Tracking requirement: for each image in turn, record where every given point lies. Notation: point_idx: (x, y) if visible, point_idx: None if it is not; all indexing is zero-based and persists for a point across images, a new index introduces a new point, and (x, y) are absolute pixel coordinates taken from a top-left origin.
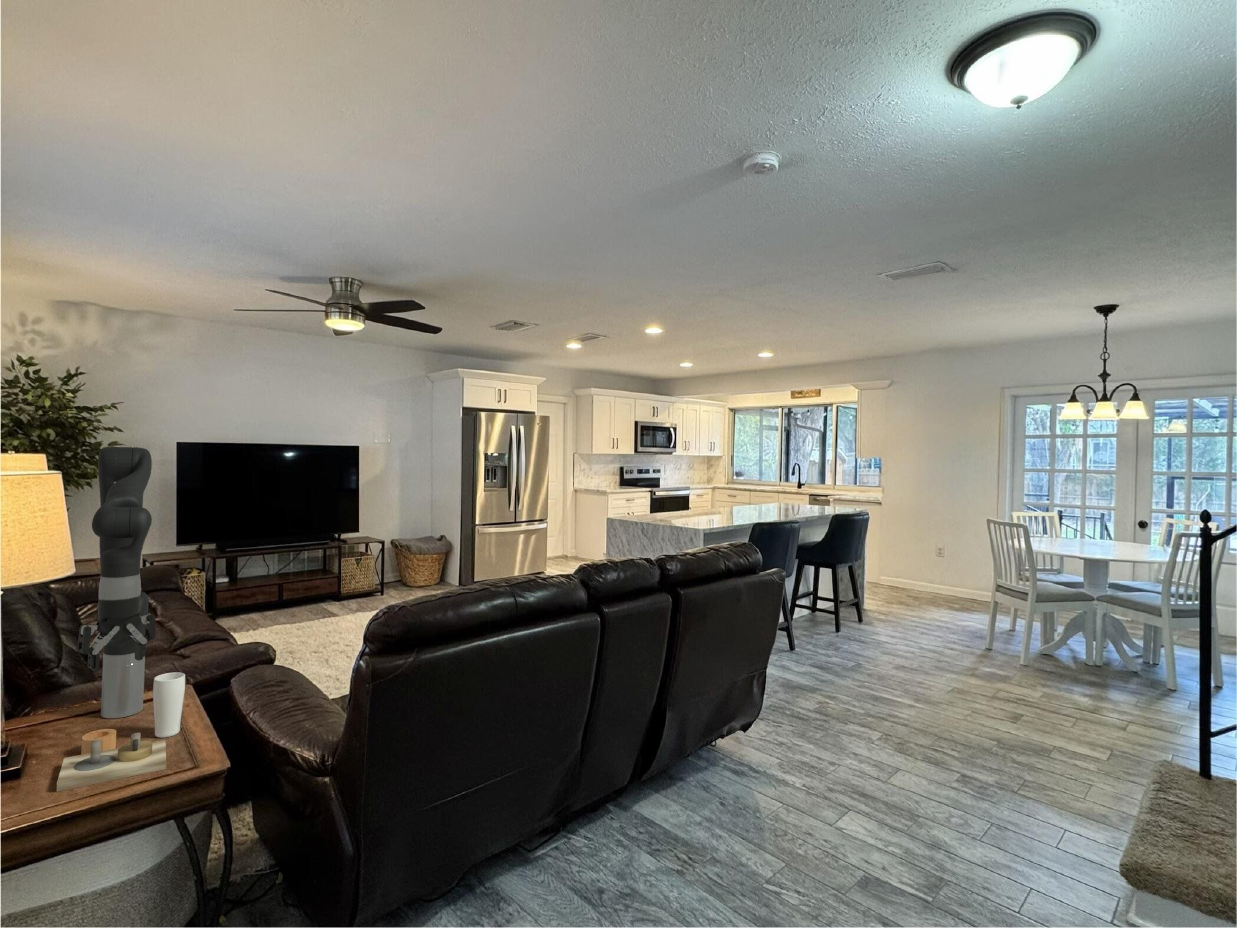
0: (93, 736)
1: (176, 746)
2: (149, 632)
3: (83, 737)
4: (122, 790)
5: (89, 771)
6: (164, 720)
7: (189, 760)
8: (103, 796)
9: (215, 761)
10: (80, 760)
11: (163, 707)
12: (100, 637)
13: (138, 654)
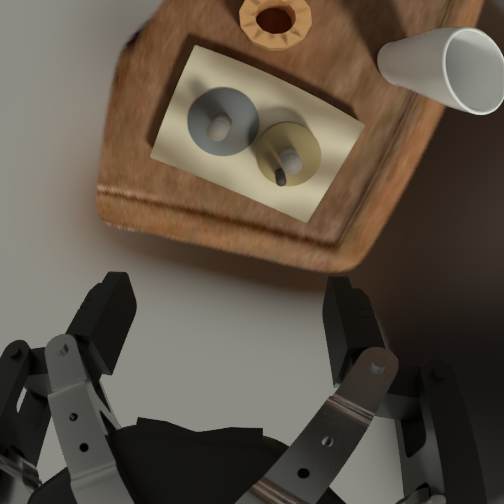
0: (270, 1)
1: (372, 137)
2: (399, 446)
3: (245, 5)
4: (225, 231)
5: (201, 154)
6: (398, 81)
7: (345, 215)
8: (198, 228)
9: (360, 252)
10: (210, 84)
11: (410, 83)
12: (83, 419)
13: (328, 328)
